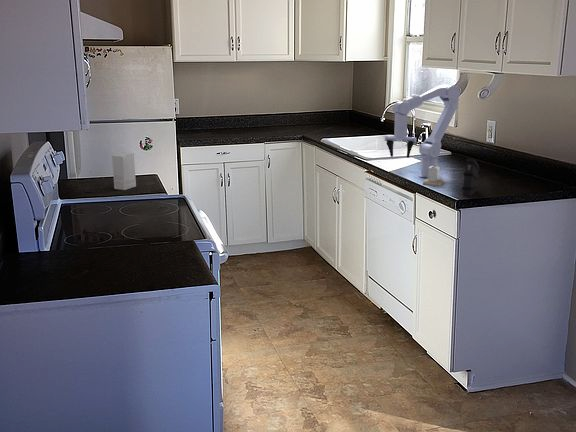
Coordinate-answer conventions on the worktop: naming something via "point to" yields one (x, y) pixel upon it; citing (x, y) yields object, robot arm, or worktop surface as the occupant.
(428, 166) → the robot arm
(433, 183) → the stand
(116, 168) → the skincare box
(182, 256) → the worktop surface
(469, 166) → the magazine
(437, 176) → the housing
